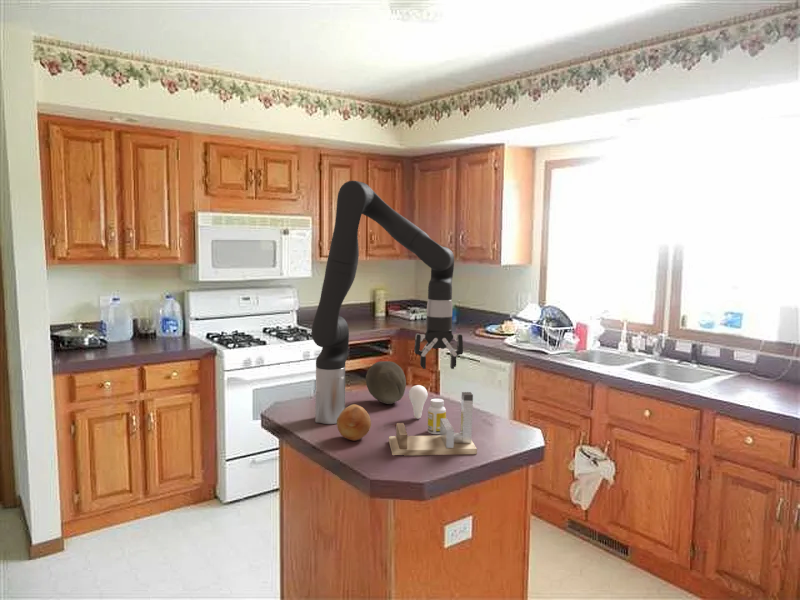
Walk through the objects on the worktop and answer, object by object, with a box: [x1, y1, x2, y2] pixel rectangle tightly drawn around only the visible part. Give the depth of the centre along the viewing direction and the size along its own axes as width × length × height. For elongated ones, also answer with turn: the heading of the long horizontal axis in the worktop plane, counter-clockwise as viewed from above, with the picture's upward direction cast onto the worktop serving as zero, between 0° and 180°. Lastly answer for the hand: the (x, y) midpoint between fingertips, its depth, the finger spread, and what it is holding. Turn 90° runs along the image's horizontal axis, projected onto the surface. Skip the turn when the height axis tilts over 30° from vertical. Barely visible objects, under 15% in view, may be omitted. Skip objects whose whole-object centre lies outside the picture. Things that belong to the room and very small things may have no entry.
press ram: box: [439, 391, 474, 448], centre depth 161 cm, size 8×10×14 cm
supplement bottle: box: [427, 398, 447, 435], centre depth 174 cm, size 5×5×10 cm
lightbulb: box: [408, 384, 429, 420], centre depth 186 cm, size 6×6×11 cm
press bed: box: [388, 422, 478, 456], centre depth 161 cm, size 23×11×6 cm, turn 96°
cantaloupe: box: [365, 360, 407, 405], centre depth 203 cm, size 14×14×15 cm
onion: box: [336, 403, 372, 442], centre depth 166 cm, size 10×10×10 cm
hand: (438, 368), depth 172 cm, fingers open, 8 cm apart
